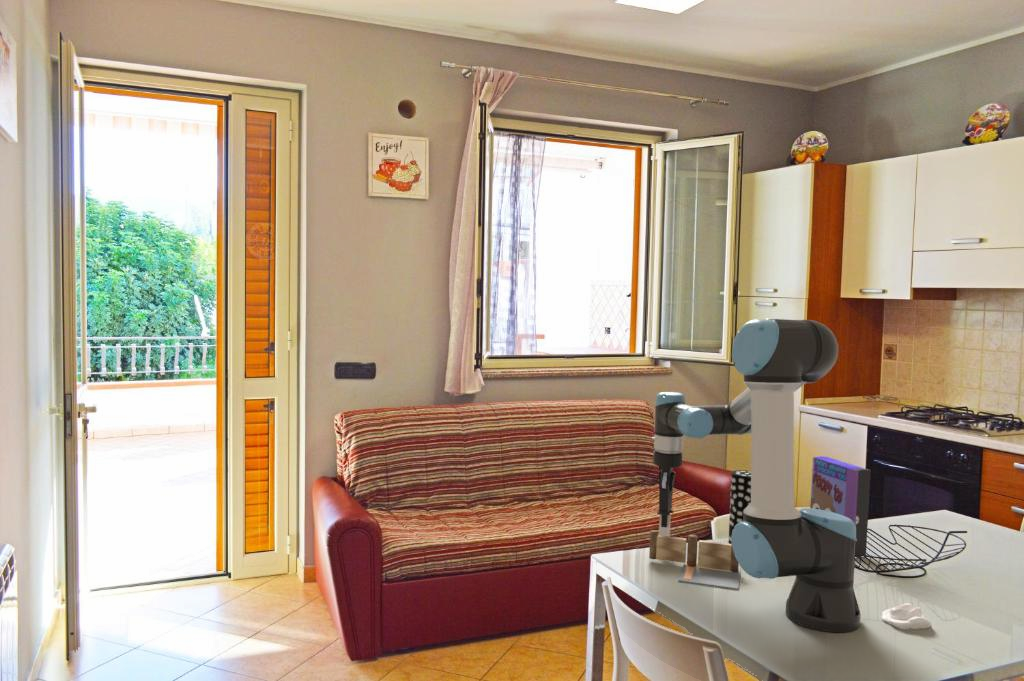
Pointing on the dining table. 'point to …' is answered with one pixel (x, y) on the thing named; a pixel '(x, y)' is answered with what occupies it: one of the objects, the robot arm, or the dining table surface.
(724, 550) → the fence fixed
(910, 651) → the dining table surface
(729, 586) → the card
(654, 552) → the folding panel
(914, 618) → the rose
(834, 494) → the cereal box
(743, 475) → the white-spotted black cylinder
